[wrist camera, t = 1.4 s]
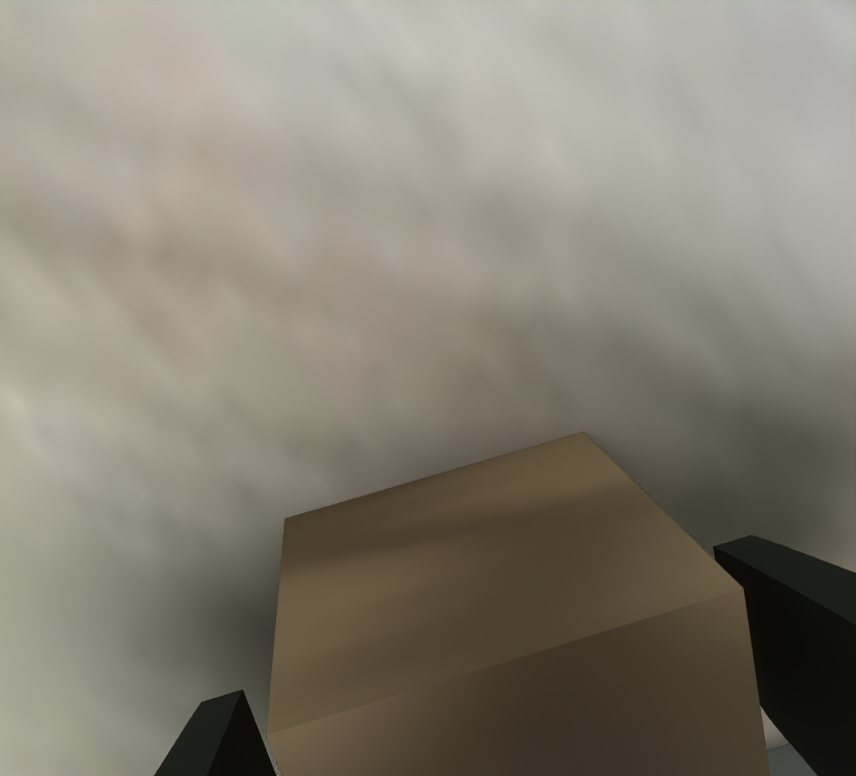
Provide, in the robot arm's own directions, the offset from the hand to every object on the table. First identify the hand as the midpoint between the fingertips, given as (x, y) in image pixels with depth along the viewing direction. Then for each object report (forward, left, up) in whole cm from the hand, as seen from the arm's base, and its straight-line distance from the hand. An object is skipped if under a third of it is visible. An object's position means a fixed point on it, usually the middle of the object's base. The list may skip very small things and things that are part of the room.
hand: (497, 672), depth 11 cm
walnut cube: (0, 0, -2) cm, 2 cm away
